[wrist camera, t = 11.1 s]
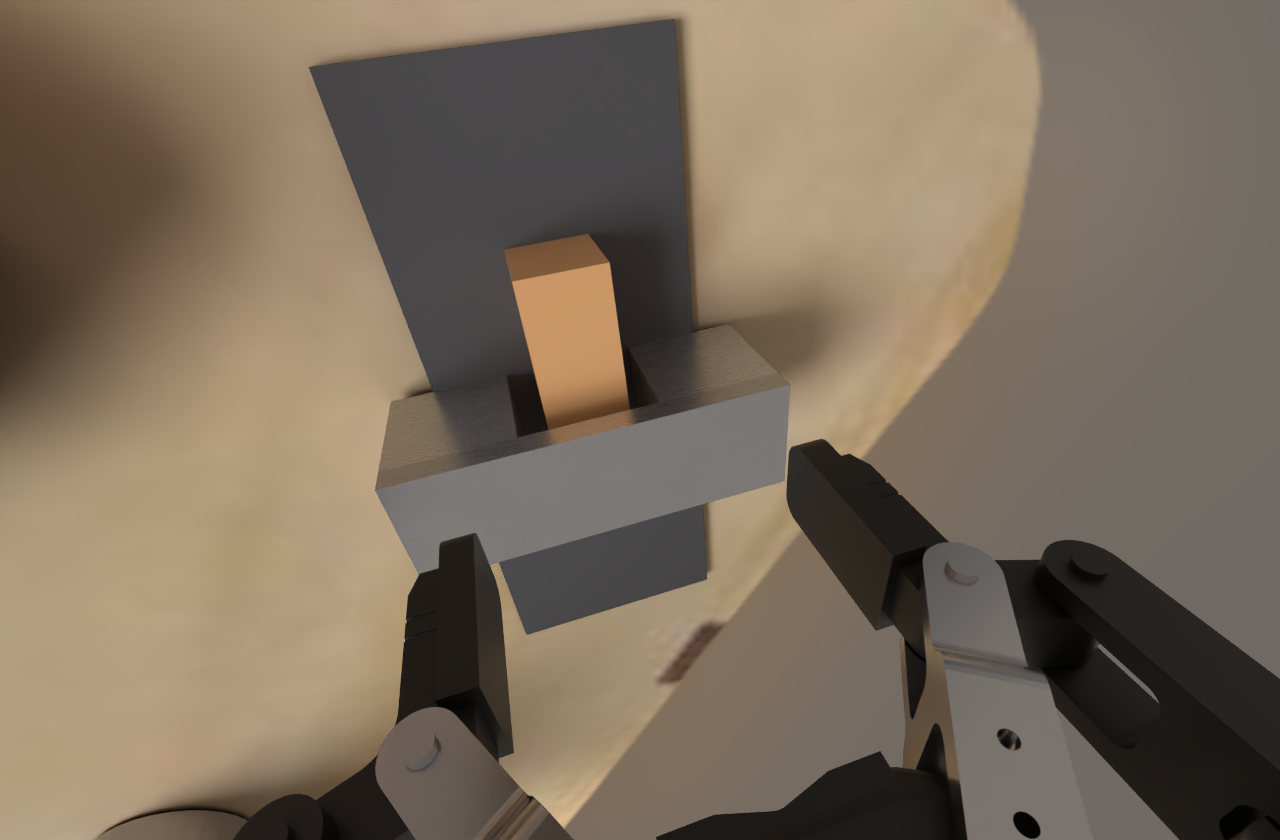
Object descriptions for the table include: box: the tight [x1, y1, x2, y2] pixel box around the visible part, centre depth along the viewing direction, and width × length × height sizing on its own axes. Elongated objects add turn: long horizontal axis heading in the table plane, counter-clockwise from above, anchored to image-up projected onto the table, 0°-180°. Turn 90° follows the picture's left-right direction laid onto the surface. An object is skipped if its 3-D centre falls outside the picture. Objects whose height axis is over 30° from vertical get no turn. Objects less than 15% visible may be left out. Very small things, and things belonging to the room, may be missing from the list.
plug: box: [504, 234, 630, 430], centre depth 24 cm, size 14×3×4 cm, turn 6°
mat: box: [309, 19, 707, 635], centre depth 27 cm, size 30×12×1 cm, turn 6°
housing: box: [375, 324, 790, 574], centre depth 24 cm, size 5×16×6 cm, turn 96°
